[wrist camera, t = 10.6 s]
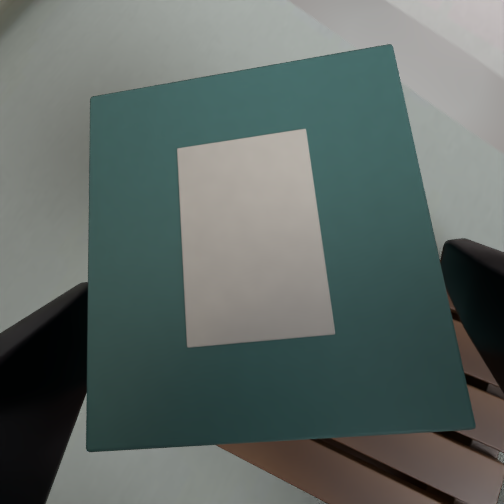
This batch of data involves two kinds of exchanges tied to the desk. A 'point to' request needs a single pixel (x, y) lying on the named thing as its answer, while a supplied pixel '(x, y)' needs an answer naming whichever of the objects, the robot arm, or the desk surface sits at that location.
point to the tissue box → (265, 262)
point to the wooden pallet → (401, 454)
